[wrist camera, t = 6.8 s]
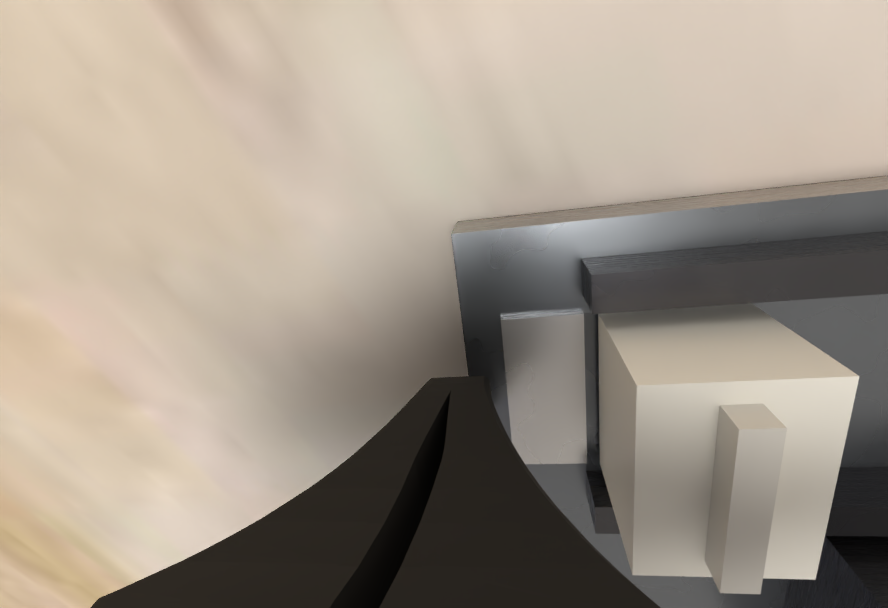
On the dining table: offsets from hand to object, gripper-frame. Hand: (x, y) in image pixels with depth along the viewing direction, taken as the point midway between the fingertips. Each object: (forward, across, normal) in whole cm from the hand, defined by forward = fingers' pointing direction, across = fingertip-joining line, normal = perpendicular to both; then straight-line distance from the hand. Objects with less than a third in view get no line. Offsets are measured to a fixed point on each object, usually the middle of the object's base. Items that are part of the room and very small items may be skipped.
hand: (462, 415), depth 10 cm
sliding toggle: (+1, -5, 0) cm, 5 cm away
